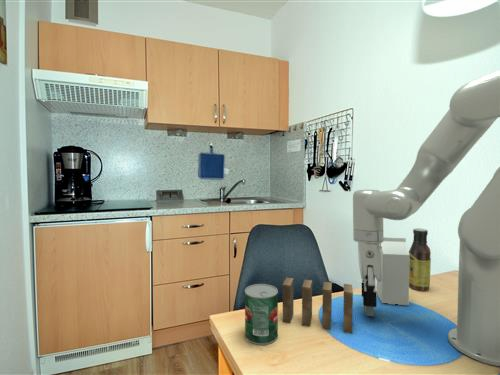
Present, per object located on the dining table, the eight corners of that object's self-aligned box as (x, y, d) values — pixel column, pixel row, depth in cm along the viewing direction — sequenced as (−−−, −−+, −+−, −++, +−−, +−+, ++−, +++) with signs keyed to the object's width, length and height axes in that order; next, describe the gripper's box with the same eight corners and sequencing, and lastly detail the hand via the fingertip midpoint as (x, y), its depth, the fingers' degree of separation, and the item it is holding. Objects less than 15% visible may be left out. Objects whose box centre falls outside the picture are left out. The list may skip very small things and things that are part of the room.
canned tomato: (240, 329, 69) (240, 286, 68) (269, 323, 71) (269, 281, 71) (252, 348, 61) (251, 299, 61) (283, 340, 64) (283, 294, 63)
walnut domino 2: (312, 316, 75) (312, 280, 74) (310, 326, 70) (310, 287, 69) (304, 315, 75) (304, 279, 75) (302, 325, 70) (302, 286, 70)
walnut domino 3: (331, 319, 73) (331, 282, 73) (330, 330, 68) (331, 290, 68) (323, 318, 74) (323, 281, 73) (322, 328, 69) (322, 289, 68)
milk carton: (408, 306, 80) (410, 241, 79) (382, 304, 82) (383, 240, 81) (400, 295, 87) (401, 235, 86) (376, 293, 88) (377, 234, 88)
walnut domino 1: (293, 314, 76) (293, 278, 76) (290, 323, 71) (290, 285, 71) (286, 312, 77) (286, 277, 76) (282, 322, 72) (282, 284, 72)
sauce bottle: (408, 282, 97) (409, 226, 96) (429, 286, 94) (430, 228, 93) (407, 289, 91) (408, 229, 90) (430, 293, 88) (431, 231, 87)
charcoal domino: (371, 307, 78) (371, 272, 78) (373, 316, 73) (373, 278, 73) (364, 306, 79) (363, 272, 78) (365, 315, 74) (365, 278, 74)
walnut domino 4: (351, 322, 71) (352, 284, 71) (352, 333, 67) (352, 292, 66) (343, 321, 72) (343, 283, 72) (343, 332, 67) (343, 291, 67)
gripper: (388, 243, 66) (389, 318, 67) (379, 229, 82) (379, 290, 83) (354, 241, 68) (355, 314, 69) (352, 229, 84) (352, 288, 85)
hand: (368, 300), depth 76 cm, fingers closed on charcoal domino, 4 cm apart
